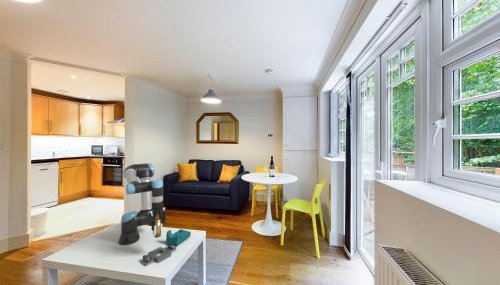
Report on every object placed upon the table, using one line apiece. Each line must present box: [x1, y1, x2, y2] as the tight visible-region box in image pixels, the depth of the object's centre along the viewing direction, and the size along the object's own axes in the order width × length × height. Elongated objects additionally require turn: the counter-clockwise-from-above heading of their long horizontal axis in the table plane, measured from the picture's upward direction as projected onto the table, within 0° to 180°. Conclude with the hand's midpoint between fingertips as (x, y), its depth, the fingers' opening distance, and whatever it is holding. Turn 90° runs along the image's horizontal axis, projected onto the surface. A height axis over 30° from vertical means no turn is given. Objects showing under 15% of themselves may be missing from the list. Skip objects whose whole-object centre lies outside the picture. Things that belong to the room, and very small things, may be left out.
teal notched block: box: [165, 228, 192, 247], centre depth 167 cm, size 18×11×10 cm, turn 161°
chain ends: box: [140, 244, 177, 267], centre depth 145 cm, size 14×23×4 cm, turn 145°
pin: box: [153, 218, 162, 239], centre depth 144 cm, size 5×5×12 cm
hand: (157, 233), depth 144 cm, fingers closed on pin, 4 cm apart
